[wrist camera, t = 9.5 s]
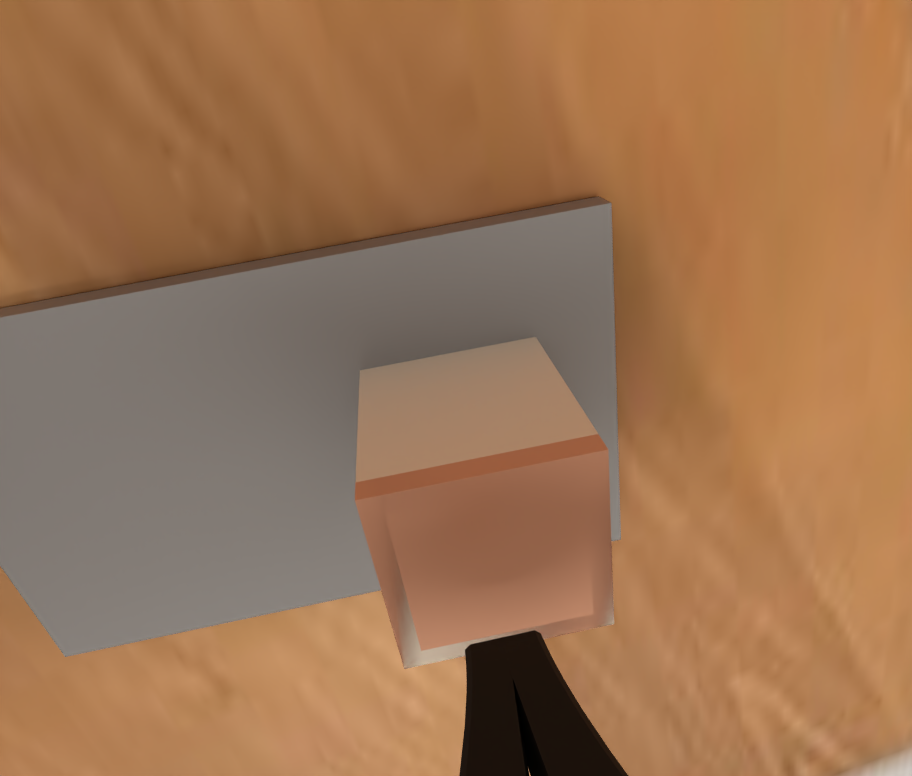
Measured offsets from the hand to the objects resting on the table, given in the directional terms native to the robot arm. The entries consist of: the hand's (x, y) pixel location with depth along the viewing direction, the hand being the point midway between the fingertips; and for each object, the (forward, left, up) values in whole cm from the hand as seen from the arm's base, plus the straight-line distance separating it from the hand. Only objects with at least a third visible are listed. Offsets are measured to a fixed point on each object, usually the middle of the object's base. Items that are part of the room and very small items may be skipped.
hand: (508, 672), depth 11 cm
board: (-3, -4, -9) cm, 11 cm away
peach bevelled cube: (0, 0, -8) cm, 8 cm away
